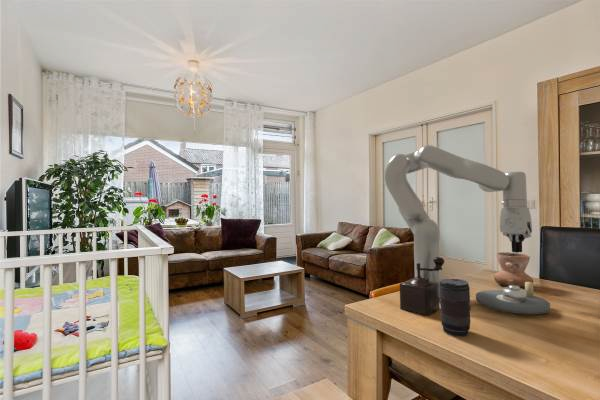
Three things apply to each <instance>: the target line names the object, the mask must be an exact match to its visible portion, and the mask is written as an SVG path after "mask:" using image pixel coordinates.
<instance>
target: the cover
mask: <svg viewBox="0 0 600 400" xmlns="http://www.w3.org/2000/svg"><path fill="white" fill-rule="evenodd" d="M502 290H503V299H505V300H507V301H511V302H520V303H522V302H526V301H527V299H526V290H525V288H520V287H519V286H516V285H509V287H506V286H503V287H502Z"/></svg>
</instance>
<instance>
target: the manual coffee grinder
mask: <svg viewBox="0 0 600 400" xmlns="http://www.w3.org/2000/svg"><path fill="white" fill-rule="evenodd" d="M433 262H434V263H435V268H434V269H427V268H420V263H417V264H416V265H417V267H416V269H417V273H418V276H417V277H416V278H415V277H413V278H411V279H408V280H405V281H403V282H400V283H399V302H400V303H399V304H400V305H399V308H400V310H403V311H406V312H410V313H414V314H418V315H422V316H427V317H428V316H430V315H432V314H434V313H436V312H437V311H438V310H439V309H441V305H440V300H439V283H437V282H431V281H429V279H425V278H422V277H421V276H420V270H426V271H439V270H440V271H443V265H444V264H445V259H444V258H442V257H440V256H439V257H436V258H434V260H433Z"/></svg>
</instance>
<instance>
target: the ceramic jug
mask: <svg viewBox="0 0 600 400" xmlns="http://www.w3.org/2000/svg"><path fill="white" fill-rule="evenodd" d="M496 258H497V261H498V264H499V266H500V268H501V270H500V271H498V272H496V273H495V274H494V275H493V280H494V281H495V282H496V283H498V284H499V285H501V286H503V287H509V285H516V286H519V287H520V288H521V289H525V282H532V283H533V284H534V278H532V277H531V276H530V275H529V274H527V273H526V272H525V271H526V269H527V266H528V265H529V262H530V260H531V259H530V258H531V256H530V255H528V254H525V253H522V252H518V253H516V252H510V251H509V252H508V251H505V252H496Z"/></svg>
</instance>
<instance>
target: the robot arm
mask: <svg viewBox="0 0 600 400" xmlns="http://www.w3.org/2000/svg"><path fill="white" fill-rule="evenodd" d="M426 168H430V169H431V170H434V171H436V172H438V173H441V174H443V175H446V176H448V177H450V178H453V179H459V180H465V181H469V182H473V183H475V184H478V187H479V188H480V189H481V191H483V192H487V193H494V192H495V193H496V192H502V199H503V201H501V205H502V206H503V207H501V210H500V215H499V231H500V232H501V233H502V235H503V237H504V236H505V237H507V238H508V239H509V242H511V253H523V242H524V241H525V239H529V238H532V235H531V234H532V231H533V223H532V216H531V212H530V208H529V207H528V197H527V196H528V195H527V176H526V173H525V172H523V171H509V172H508V171H507V172H503V171H502V170H499V169H497V168H494V167H492V166H490V165H487V164H484V163H481V162H478V161H474V160H471V159H468V158H464V157H461V156H459V155H456V154H454V153H451V152H449V151H446V150H443V149H441V148H439V147H436V146H434V145H431V144H430V145H429V144H426V145H423V146H421V147H420V148H419V149H418V150H416V151H412V152H411V153H407V154H404V153H396V154H394V155H393V156H392V157H391V158H390V159H389V161H388V163H387V165H386V167H385V171H384V181H385V186H386V188H387V190H388V192H389V193H390V195H391V197H392V199H393V200H394V202H395V203H396V205H397V207H398V208H397V209H398V212H399V213H400V215H401V217H402V218H403V220H404V221H405V223H406V225H407V226H408V228H409V229H410V231H411V233H412V234H413V261H414V262H413V263H414V267H413V268H414V269H413V270H414V278H416V277H417V276H418V273H417V269H416V267H417V265H416V264H417V263H420V268H427V269H434V268H435V263H434V262H433V260H434V258H436V257H440V236H441V235H440V234H441V233H440V228H439V225H438V224H437V222H436V221H434V220H433V219H432V218H430V216H429V215H428V214H427V213H428V212H426V210H425V208H424V204H423V202H422V201H421V199H420V198H419V197H418V195H417V193H416V192H415V191H414V189H413V188H412V186H411V184H410V182H409V181H408V179H407V175H408V174H412V173H415V172H418V171H421V170H424V169H426ZM440 273H441V270H439V271H426V270H420V276H421V277H422V278H425V279H429V281H431V282H437V283H439V285H440V280H441V277H440ZM439 301H440V293H439Z"/></svg>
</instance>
